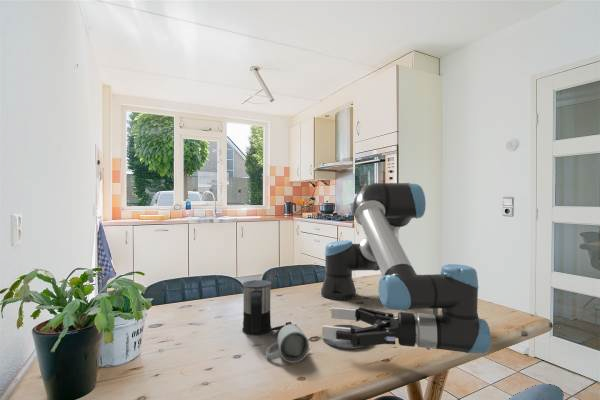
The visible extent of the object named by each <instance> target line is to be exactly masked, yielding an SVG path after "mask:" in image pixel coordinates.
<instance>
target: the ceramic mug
mask: <svg viewBox="0 0 600 400" xmlns="http://www.w3.org/2000/svg"><path fill="white" fill-rule="evenodd" d="M292 324H293V323H292ZM292 324H290V325H286V324H285V325H286V326H284V327H283V328H282V329H281V330H278V331H279V332H278V334H277V341H276V342H274V343H273V344H270V346H269V347H268V348H267V349H266V352H265V355H266V357H267V359H268V360H272V361H273V360H276V359H280V358H282V359H283V361H284V362H287V363H291V364H295V363H298V362H300V361H303V360H304V358H305V357H307V355H308V353H309V348H310V344H309V340H308V337H307V336H306V334H305V333H304V331H303V329H301V328H300V327H299V326H296V325H297V324H294V325H292ZM277 349H278V350H277ZM275 350H277V351H275ZM274 351H275V352H274Z"/></svg>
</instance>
